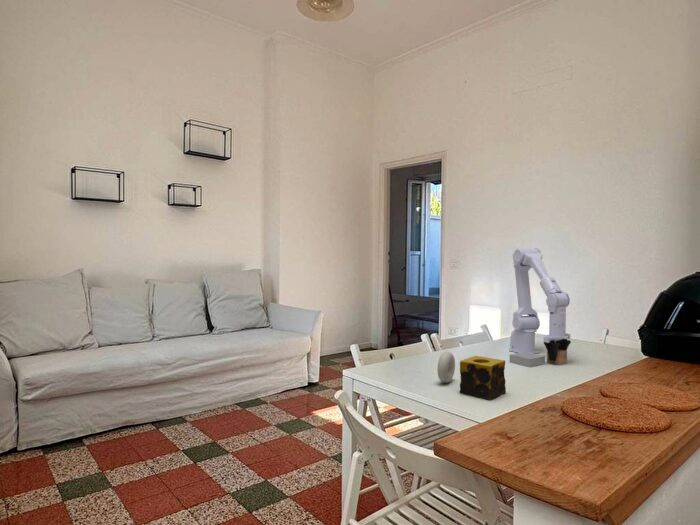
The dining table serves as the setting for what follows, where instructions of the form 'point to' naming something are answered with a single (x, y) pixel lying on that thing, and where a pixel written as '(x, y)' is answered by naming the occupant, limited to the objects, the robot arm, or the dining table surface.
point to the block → (559, 357)
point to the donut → (446, 367)
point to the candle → (482, 377)
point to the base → (527, 359)
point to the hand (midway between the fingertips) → (556, 359)
